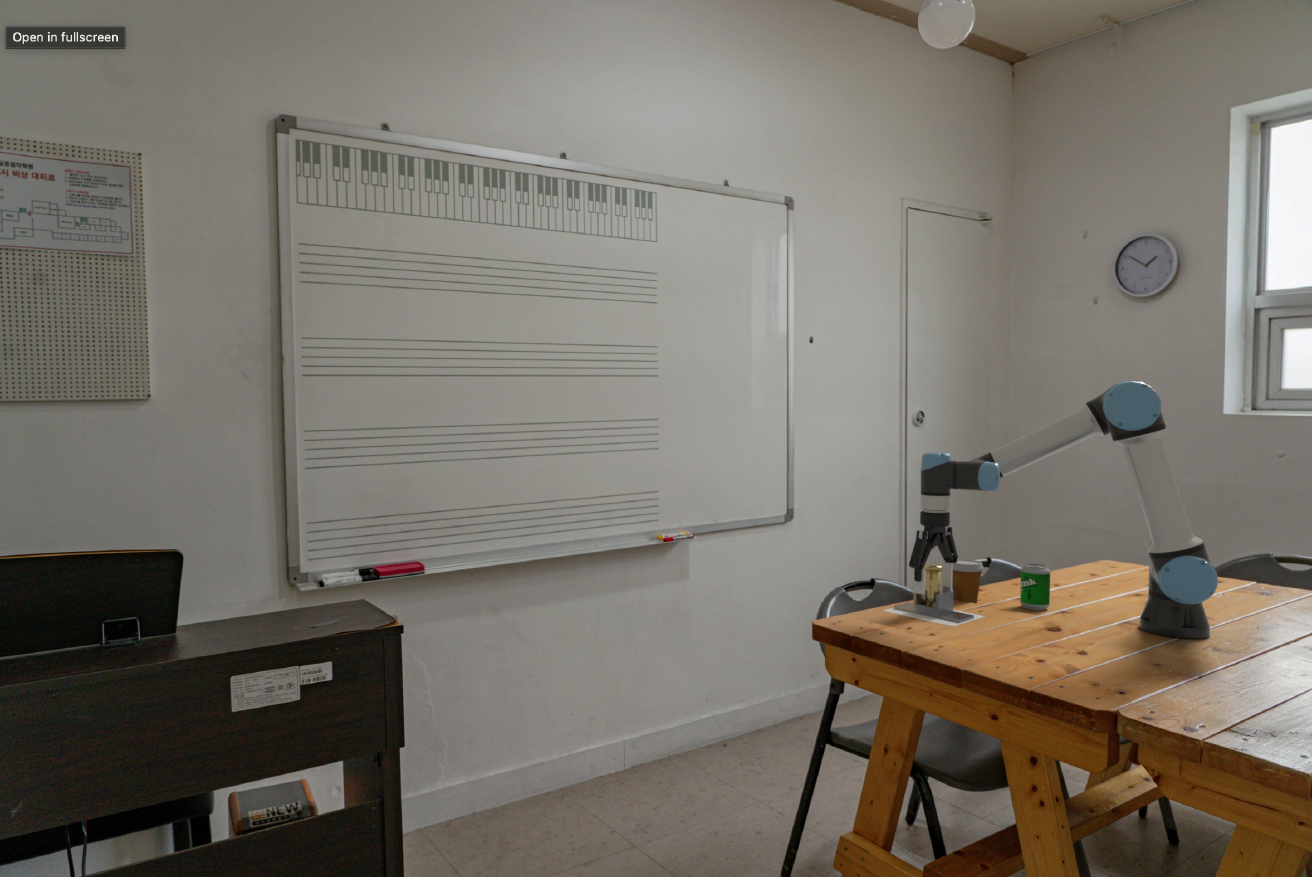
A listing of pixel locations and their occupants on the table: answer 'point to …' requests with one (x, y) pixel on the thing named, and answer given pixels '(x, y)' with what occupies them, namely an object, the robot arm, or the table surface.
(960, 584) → the disposable coffee cup
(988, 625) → the table surface
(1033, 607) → the soda can
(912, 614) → the board
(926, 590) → the pin
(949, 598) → the hinge
